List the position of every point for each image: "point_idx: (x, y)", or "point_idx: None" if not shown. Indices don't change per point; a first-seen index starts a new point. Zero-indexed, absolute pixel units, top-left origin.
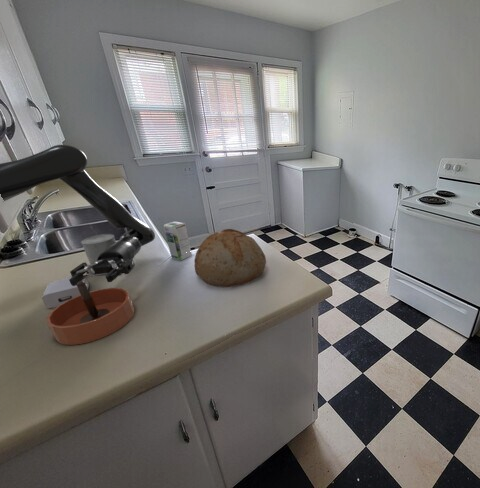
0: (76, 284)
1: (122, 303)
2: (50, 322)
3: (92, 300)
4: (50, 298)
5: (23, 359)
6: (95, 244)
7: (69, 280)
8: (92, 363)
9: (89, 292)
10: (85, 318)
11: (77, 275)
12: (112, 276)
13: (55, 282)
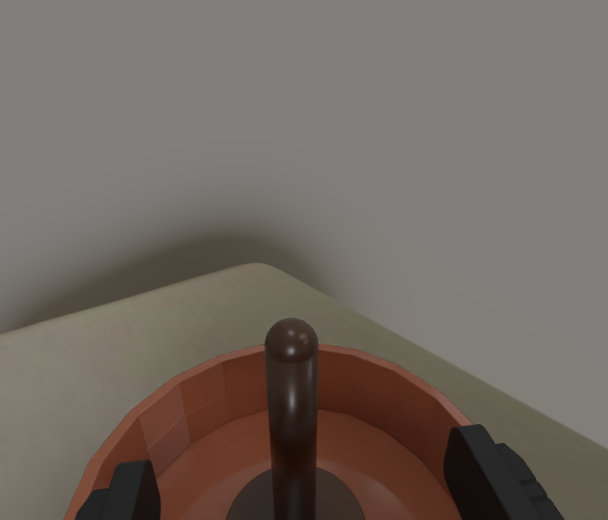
0: (453, 490)
1: (94, 478)
2: (390, 369)
3: (271, 456)
4: None
5: (413, 371)
6: None
7: (501, 445)
8: (192, 347)
9: (268, 411)
10: (336, 508)
11: (497, 500)
12: (93, 499)
13: None
